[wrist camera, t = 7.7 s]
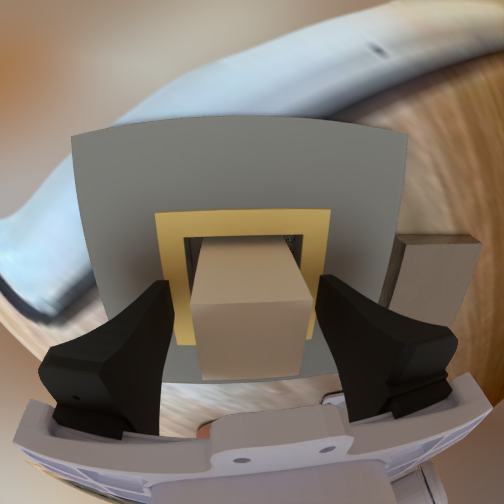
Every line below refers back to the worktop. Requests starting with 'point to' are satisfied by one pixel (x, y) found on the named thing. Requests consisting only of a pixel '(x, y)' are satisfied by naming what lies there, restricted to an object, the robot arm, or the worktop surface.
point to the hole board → (237, 209)
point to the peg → (249, 308)
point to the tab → (429, 276)
